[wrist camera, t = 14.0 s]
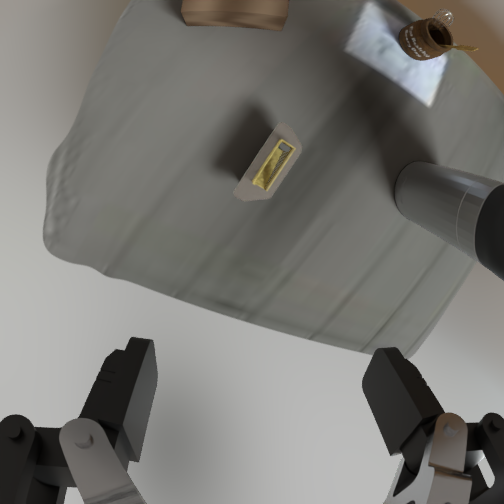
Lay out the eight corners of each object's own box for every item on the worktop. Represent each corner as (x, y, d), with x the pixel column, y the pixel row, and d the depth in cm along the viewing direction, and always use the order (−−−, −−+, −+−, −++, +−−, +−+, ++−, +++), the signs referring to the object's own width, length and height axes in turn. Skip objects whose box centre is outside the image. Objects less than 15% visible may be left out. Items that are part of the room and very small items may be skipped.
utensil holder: (414, 23, 27) (461, 2, 16) (435, 57, 29) (486, 45, 18) (390, 32, 28) (436, 8, 17) (413, 68, 30) (465, 55, 19)
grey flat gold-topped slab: (340, 133, 35) (360, 133, 28) (266, 242, 40) (272, 262, 34) (264, 81, 32) (270, 69, 26) (189, 198, 37) (180, 209, 31)
